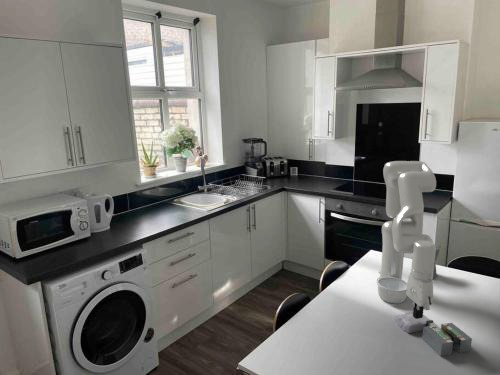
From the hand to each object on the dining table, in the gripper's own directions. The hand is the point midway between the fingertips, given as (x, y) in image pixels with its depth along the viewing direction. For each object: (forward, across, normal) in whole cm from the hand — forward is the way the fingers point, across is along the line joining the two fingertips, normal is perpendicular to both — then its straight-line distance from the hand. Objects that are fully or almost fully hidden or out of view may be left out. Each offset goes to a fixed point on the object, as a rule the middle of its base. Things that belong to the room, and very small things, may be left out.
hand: (417, 317), depth 147 cm
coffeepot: (+5, -39, +32) cm, 51 cm away
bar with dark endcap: (+4, +7, +4) cm, 9 cm away
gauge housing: (+5, +11, +4) cm, 13 cm away
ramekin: (+5, -23, +4) cm, 24 cm away
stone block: (+6, -3, 0) cm, 6 cm away
